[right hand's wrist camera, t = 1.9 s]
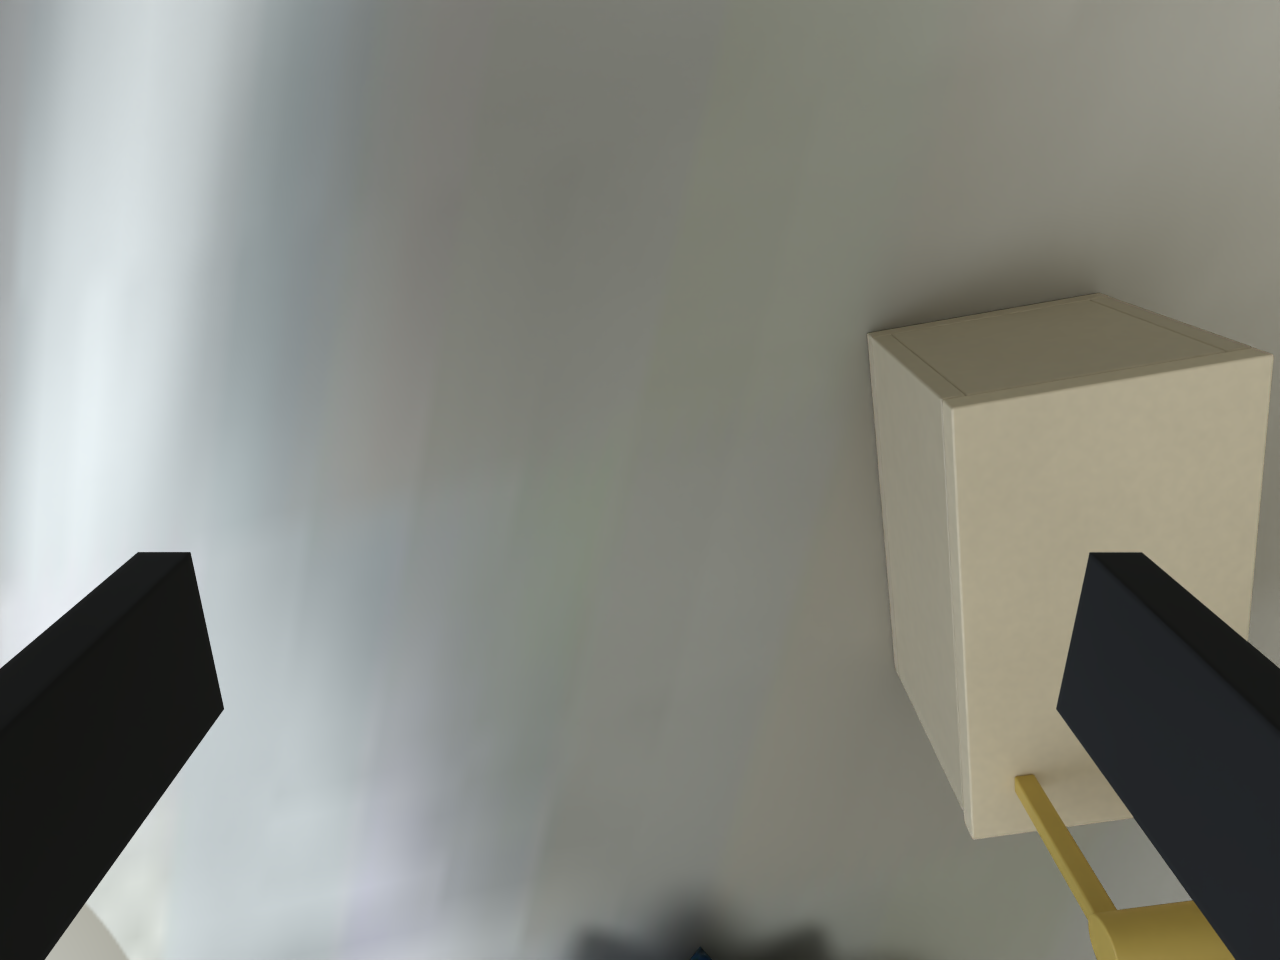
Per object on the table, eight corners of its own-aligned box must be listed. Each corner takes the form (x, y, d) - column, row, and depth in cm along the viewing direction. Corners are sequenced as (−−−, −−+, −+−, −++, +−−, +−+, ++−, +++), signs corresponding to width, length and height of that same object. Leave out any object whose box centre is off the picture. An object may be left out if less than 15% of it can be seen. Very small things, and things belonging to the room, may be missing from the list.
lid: (1218, 787, 32) (1408, 1003, 24) (963, 822, 32) (1067, 1043, 24) (1254, 346, 26) (1524, 440, 18) (941, 399, 26) (1069, 512, 18)
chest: (1094, 639, 40) (1218, 777, 32) (894, 668, 41) (962, 812, 32) (1099, 292, 34) (1253, 346, 26) (866, 332, 35) (940, 398, 26)
